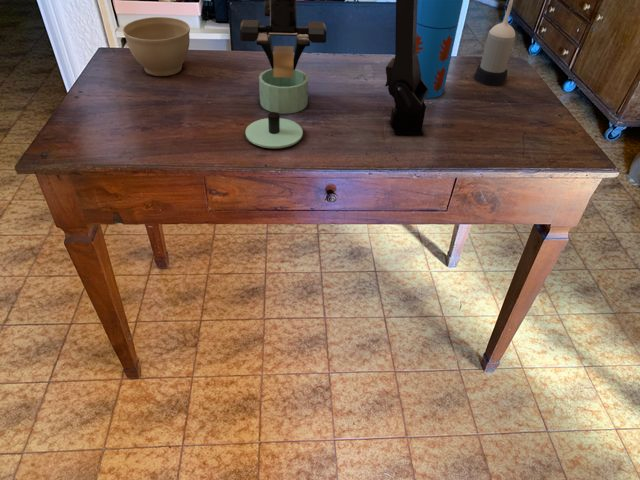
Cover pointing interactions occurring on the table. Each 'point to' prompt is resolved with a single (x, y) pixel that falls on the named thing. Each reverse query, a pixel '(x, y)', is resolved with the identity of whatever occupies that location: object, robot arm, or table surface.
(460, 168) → the table surface
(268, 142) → the lid
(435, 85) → the thermos
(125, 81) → the table surface
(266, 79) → the tin
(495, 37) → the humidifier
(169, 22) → the planter bowl
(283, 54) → the block
